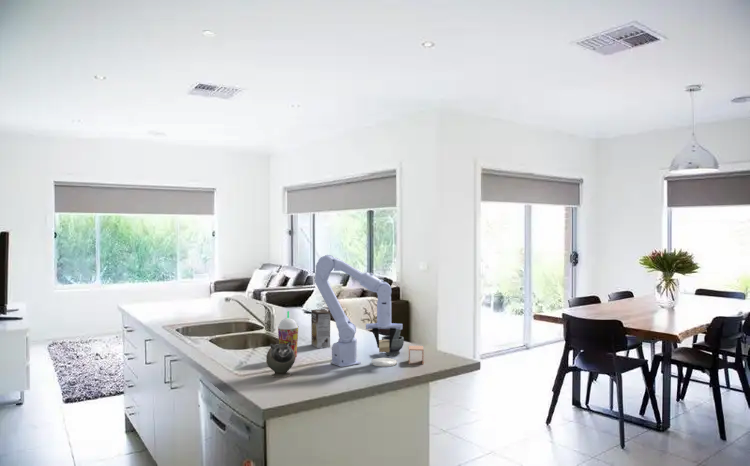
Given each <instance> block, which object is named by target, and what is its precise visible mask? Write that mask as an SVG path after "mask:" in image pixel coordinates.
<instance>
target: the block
mask: <svg viewBox="0 0 750 466" xmlns="http://www.w3.org/2000/svg"><path fill="white" fill-rule="evenodd" d="M386 352H389V340H382V339H379V348H378V353H386Z"/></svg>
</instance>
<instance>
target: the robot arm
mask: <svg viewBox="0 0 750 466" xmlns="http://www.w3.org/2000/svg"><path fill="white" fill-rule="evenodd" d="M332 271H334V272H340V271H341V272H343V273H345V274H347V275H349V276H351V277H352V278H354V279H356V280H358V281H359V285H360V286H362V287H363V288H365V289H367V290H368V291H370V292H372V293H376V295H377V301H376V322H375V323H374V322H373V323H366V324H365V330H372V334H373V335H374V338H375V341H376V347H377V349H379V340H380V330H389V336H390V342H389V348H391V343H392V340H393V337H394V335H395V332H396V329H401V330H403V327H404V326H403V323H396V322H395V323H394V322H393V323H392V292H393V291H392V287H391V285H390V284H389V282H387V281H384V279H380V278H379V277H377V276H375V275H374V273H373V272H368V271H367V272H361V271H360V270H358V269H357V268H355V267H353V266H352V265H350V264H349V263H347V262H345V261H344V260H343V259H340V258H337V257H334V256H333V255H331V254H326V255H323V256H320V258H319V259H318V261H317V262H316V265H315V275H314V283H315V286H316V287H317V289H318V291H319V293H320V294H321V296H322V299H323V301H324V302H325V304H326V307H327V308H328V310H329V312H330V315H331V316H332V318H333V320H334V322H335V325H336V328H337V331H338V341H337V342H334V343H333V344H332V346H331V361H330V364H333V365H336V366H338V367H341V368H343V367H349V366H354V365H358V364H361V363H362V362H361V361H359V360H357V359H358V358H357V357H358V356H357V351H358V350H357V338H356V337H355V336H356V332H357V328H356V325H355V324H354V323H353V322H352V321H351V320H350V318H349V317H348V316H347V314H346V312H345V311H344V309H343V307H342V305H341V303H340V301H339V299H338V297H337V296H336V293H335V292H334V290H333V288H332V286H331V283H330V282H329V278H330V275H331V272H332Z"/></svg>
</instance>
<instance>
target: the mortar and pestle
mask: <svg viewBox="0 0 750 466" xmlns="http://www.w3.org/2000/svg"><path fill="white" fill-rule="evenodd" d="M401 332H402V329H396V332H395V335H394V337H393V340H392V343H391V348H389V352H385V355H387V356H400V354H401V353H400V351H401V349H403V346H404V344H405V339H404V338H405V337H404V336H401ZM381 340H389V342H390V335H385V336H381Z"/></svg>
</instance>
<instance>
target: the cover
mask: <svg viewBox="0 0 750 466" xmlns="http://www.w3.org/2000/svg"><path fill="white" fill-rule="evenodd" d="M411 351H418V352H419V351H421V364H422V365H424V363H425V362H424V361H425V360H424V356H425V355H424V353H425V352H424V346H423V345H408V365H411Z"/></svg>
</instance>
